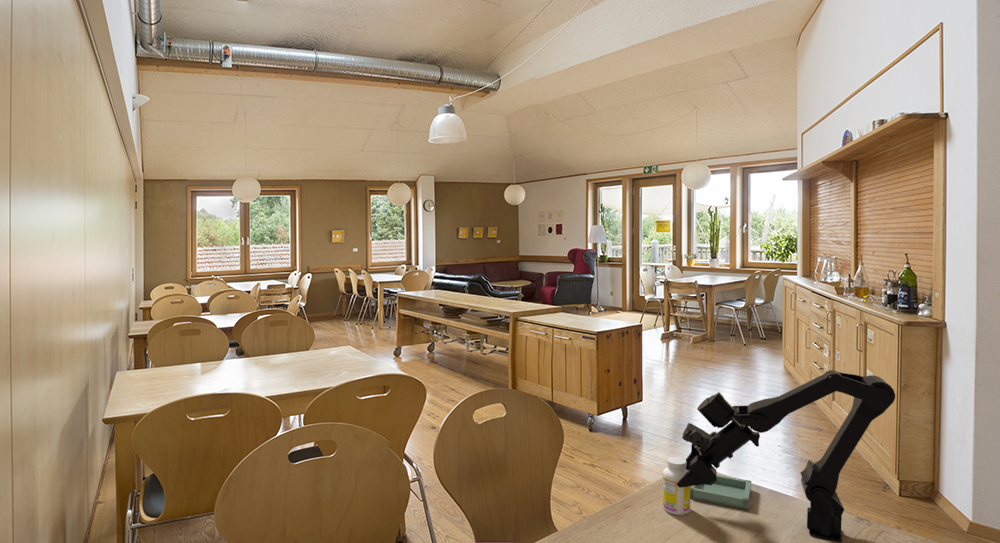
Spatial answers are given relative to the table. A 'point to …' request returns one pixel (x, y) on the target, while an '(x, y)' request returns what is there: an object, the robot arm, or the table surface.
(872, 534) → the table surface
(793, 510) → the table surface
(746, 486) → the tub
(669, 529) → the table surface
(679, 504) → the supplement bottle
